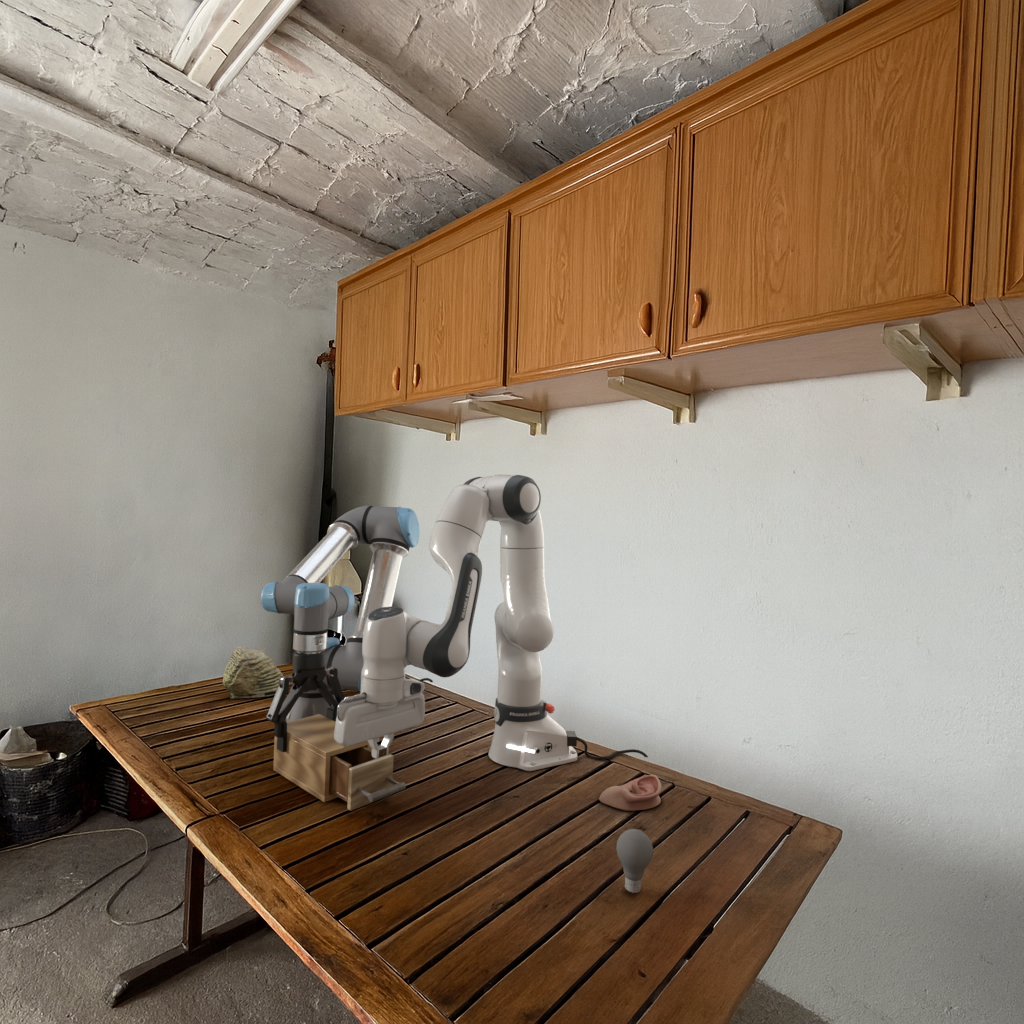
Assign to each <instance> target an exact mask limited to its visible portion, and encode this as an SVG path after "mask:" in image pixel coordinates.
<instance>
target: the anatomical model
mask: <svg viewBox="0 0 1024 1024" xmlns="http://www.w3.org/2000/svg"><path fill="white" fill-rule="evenodd" d="M662 788H663V787H662V783H661V781H660V779H659V777H658V776H656V775H654V774H648V775H644V776H639V777H637V778H634V779H633V780H630V781H628V782H627V783H624V784H621V785H613V786H610V787H607V788H606V789H604V790H603V791H602V792H601V794H599V796H598V801H600V802H601V803H602V804H604V805H607V806H610V807H612V808H614V809H617V810H621V811H631V812H632V811H642V810H643V811H644V810H648V809H653V808H655V807H657V806H659V805H660V804H661V802H662V801H661V798H660V794H661V792H662V790H663V789H662Z"/></svg>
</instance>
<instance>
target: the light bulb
mask: <svg viewBox="0 0 1024 1024" xmlns="http://www.w3.org/2000/svg"><path fill="white" fill-rule="evenodd" d="M615 849H616V854H617V857H618V859H619V861H620V863H621V865H622V867H623V873H624V874H623V875H624V876H625V878H624V888H625V890H627V891H628V892H630V893H634V894H635V893H639V892H640V891H641V889H642V887H641V886H642V879H643V877H644V875H645V871H646V868H647V867H648V866H649V864H650V863H651V861H652V859H653V855H654V847H653V843H652V841H651V838H649V836H648V835H647V834H646V833H645V832H643V831H642V830H641V829H636V828H629V829H627V830H625V831H623V832H622V833H621V834H620V835H619V837H618V839H617V841H616V847H615Z"/></svg>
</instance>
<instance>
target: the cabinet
mask: <svg viewBox="0 0 1024 1024" xmlns="http://www.w3.org/2000/svg"><path fill="white" fill-rule="evenodd" d="M335 723H336V722H335V721H333V720H331V719H329V718H327V717H324V716H322V715H320V714H318V715H314V716H310V717H306V718H302V719H298V720H294V721H290V722H287V739H286V752H281V751H279V750H278V749H277V737H276V736H275V735H274V738H273V739H274V740H273V765H272V767H273V769H272V770H273V771H274V772H275V773H277V774H279V775H281V776H282V777H284V778H285V779H287V780H288V781H290V782H292V783H293V784H295V786H298V787H299V788H301V789H303V790H304V791H305V792H307V793H309V794H311V795H312V796H313V797H315V798H316V799H318V800H320V801H321V802H323V803H326V802H330V801H332V800H335V799H337V798H339V797H338V796H336V795H334V794H333V793H331V792H329V780H330V756H334V755H337V754H340V753H343V752H346V751H350V750H353V749H356V748H359V747H363V746H364V747H367V748H369V749H371V750H372V748H371V746H370V745H369V743H368V741H365V742H361V743H358V744H355V745H352V746H348V747H344V746H342V745H340V744H338V743H337V742H336V741H335V739H334V730H335Z"/></svg>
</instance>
